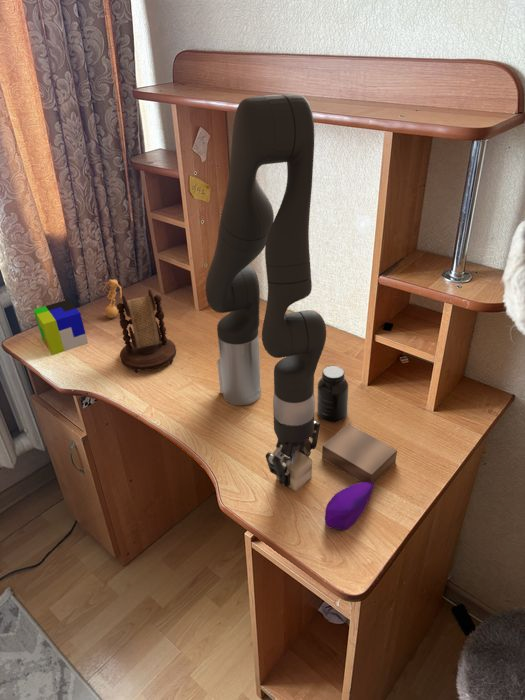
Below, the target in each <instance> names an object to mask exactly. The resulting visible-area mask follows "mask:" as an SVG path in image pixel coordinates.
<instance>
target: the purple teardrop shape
mask: <svg viewBox="0 0 525 700" xmlns="http://www.w3.org/2000/svg"><path fill="white" fill-rule="evenodd" d="M374 486H375V484H374V483H373V482H363V483H361V482H357V483H355V484H352V485H350V486H347V487H345V488H344V489H341V490H340V491H338V492H336V493H335V494H334V495H333V496H332V497H331V499H330V500H329V501H328V502H327V504H326V506H325V514H324V524H325V526H327V527H328V528H330V529H332V530H333V529H335V530H343V531H345V530H348V529H349V528H350V527H352V526H353V525H354V524H355V523H356V522H357V521H358V519H360V517H362V514H363V512H364V511H365V509H366V508H367V506H368V505H367V504H368V503H369V501H370V499H371V496H372V493H373V491H374Z"/></svg>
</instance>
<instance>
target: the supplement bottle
mask: <svg viewBox="0 0 525 700" xmlns="http://www.w3.org/2000/svg"><path fill="white" fill-rule="evenodd" d="M346 379H347V378H346V377H345V371H344V369H343V368H342V367H340V366H338V365H328V366H326V367H324V368H323V369H322V373H321V377H320V379H319V381H318V383H317V407H316V408H317V415H318V416H319V418H320V419H321V420H323V421H325V422H327V423H339V422H341V421H343V420H345V418H346V417H347V414H348V404H349V403H348V402H349V382H348V381H347V380H346Z"/></svg>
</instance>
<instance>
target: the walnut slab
mask: <svg viewBox="0 0 525 700" xmlns="http://www.w3.org/2000/svg"><path fill="white" fill-rule="evenodd" d="M321 446H322V447H321V448H322V449H321V459H322V460H324V461H326V462H327V463H329V464H330V465H332V466H333V467H335V468H337V469H339V470H341V471H342V472H343V473H345V474H347V475H348V476H350V477H352V478H353V479H355V480H356V481H358V482H359V483H363V482H373V483H374V485H375V484H376V483H377V482H378V481H379V480H380V479H381V478H382V477H383V476H384V475H385V474H386V473H387V472H388V471H389V470H390V469H391V468H392V467H394V465H395V464H396V461H397V455H398V449H396V448H394V447H392V446H390V445H389V444H387V443H385V442H383V441H382V440H380V439H378V438H376V437H375V436H372V435H370V434H368V432H366V431H363V430H361V429H359V428H357V427H355V426H354V425H352V424H351V423H348V424H347V425H345V426H344V427H343V428H341V429H340V430H339V431H338V432H337V433H335V434H334V435H333V436H332V437H331V438H330V439H328V440H327V441H325V443H323V444H322V445H321Z"/></svg>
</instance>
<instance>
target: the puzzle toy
mask: <svg viewBox="0 0 525 700" xmlns="http://www.w3.org/2000/svg"><path fill="white" fill-rule="evenodd" d="M33 312H34V316H35V319H36V323H37V326H38V330H39V332H40V336H41V338H42V341H43V344H45V346H46V347H47V349H48V351H49V352H50V353H51V355H52V356H55V355H57V354H61V353H63V352H67V351H69V350H72V349H75V348H79V347H81V346H82V347H83V346H85V345H88V343H89V342H88V338H87V333H86V331H85V326H84V322H83V318H82V314H81V312H80V310H79V309H78V308H77V307H76V306H75V305H74V303H72V301H71V300H70V299H69V298H68V299H65V300H62V301H61V300H60V301H58V302H55V303H52V304H48V305H45V306H41V307H38V308H35V309H33Z"/></svg>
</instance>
